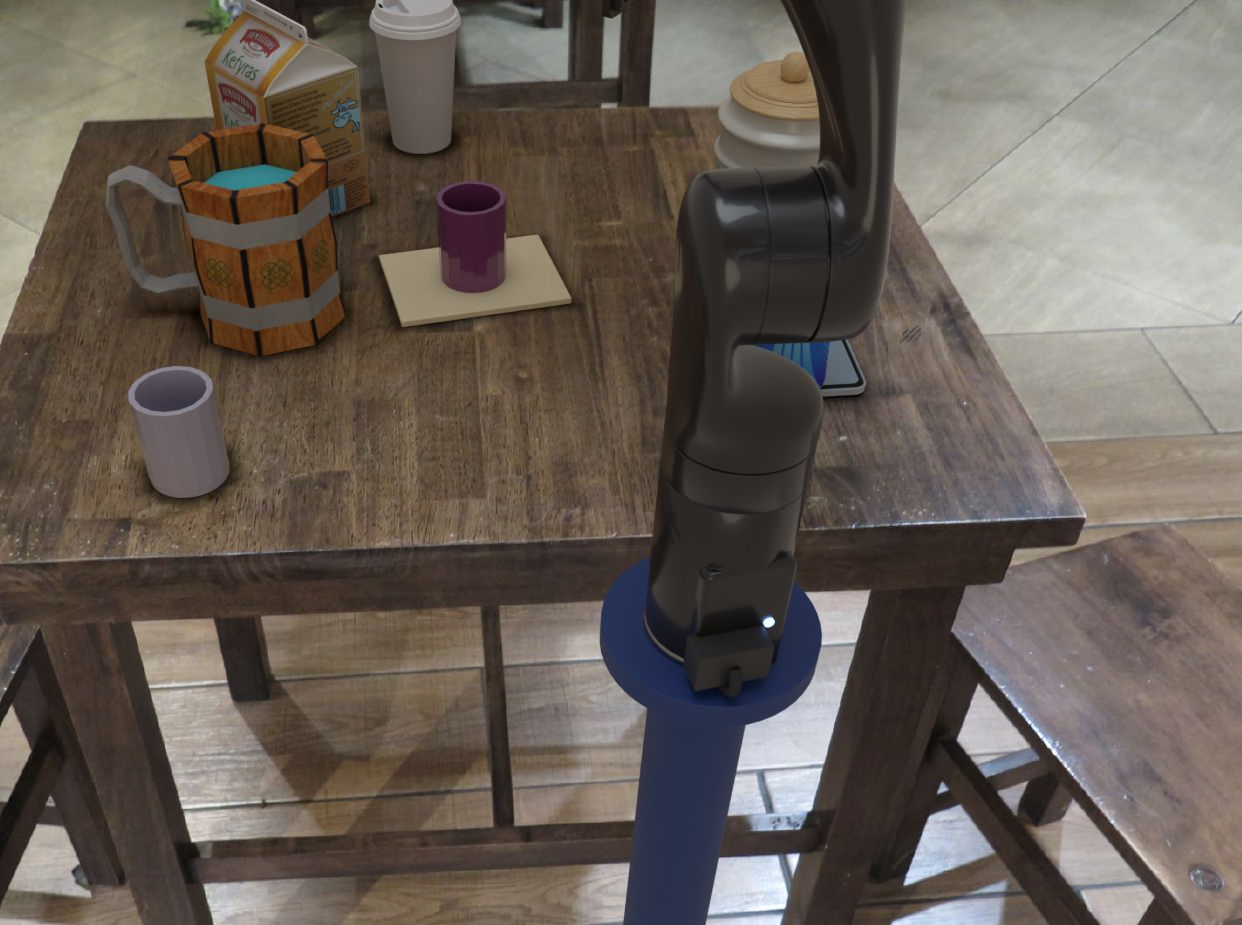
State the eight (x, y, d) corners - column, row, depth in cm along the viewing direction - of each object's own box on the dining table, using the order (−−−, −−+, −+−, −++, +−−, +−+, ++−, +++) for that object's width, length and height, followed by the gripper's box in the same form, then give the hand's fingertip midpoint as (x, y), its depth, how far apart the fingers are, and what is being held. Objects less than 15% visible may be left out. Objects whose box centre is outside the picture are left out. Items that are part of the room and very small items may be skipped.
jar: (825, 199, 131) (858, 26, 119) (844, 265, 122) (881, 85, 110) (700, 197, 131) (719, 24, 119) (709, 263, 122) (731, 82, 110)
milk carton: (228, 197, 132) (195, 9, 118) (312, 166, 136) (290, -18, 123) (283, 236, 126) (255, 43, 112) (370, 202, 131) (352, 13, 117)
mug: (355, 276, 121) (339, 124, 110) (335, 358, 111) (316, 200, 100) (151, 272, 121) (116, 120, 111) (114, 353, 112) (71, 196, 101)
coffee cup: (383, 121, 144) (373, -17, 134) (467, 122, 144) (463, -16, 133) (374, 160, 137) (362, 18, 127) (462, 161, 137) (457, 19, 127)
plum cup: (513, 288, 118) (512, 209, 112) (448, 297, 117) (444, 218, 111) (497, 255, 122) (496, 177, 117) (434, 263, 121) (430, 185, 116)
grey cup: (233, 491, 98) (215, 408, 93) (152, 504, 97) (129, 421, 92) (226, 442, 103) (209, 360, 97) (148, 454, 102) (126, 372, 96)
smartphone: (783, 392, 106) (746, 292, 116) (781, 401, 107) (745, 301, 117) (869, 387, 107) (825, 288, 117) (867, 397, 107) (823, 297, 118)
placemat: (571, 303, 117) (571, 298, 117) (401, 327, 114) (401, 322, 114) (538, 239, 125) (538, 234, 125) (379, 260, 123) (378, 255, 122)
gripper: (451, -251, 85) (459, -1, 96) (635, -222, 79) (621, 40, 91) (512, -271, 89) (513, -30, 101) (691, -246, 84) (670, 7, 95)
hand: (564, 3), depth 96 cm, fingers open, 8 cm apart
